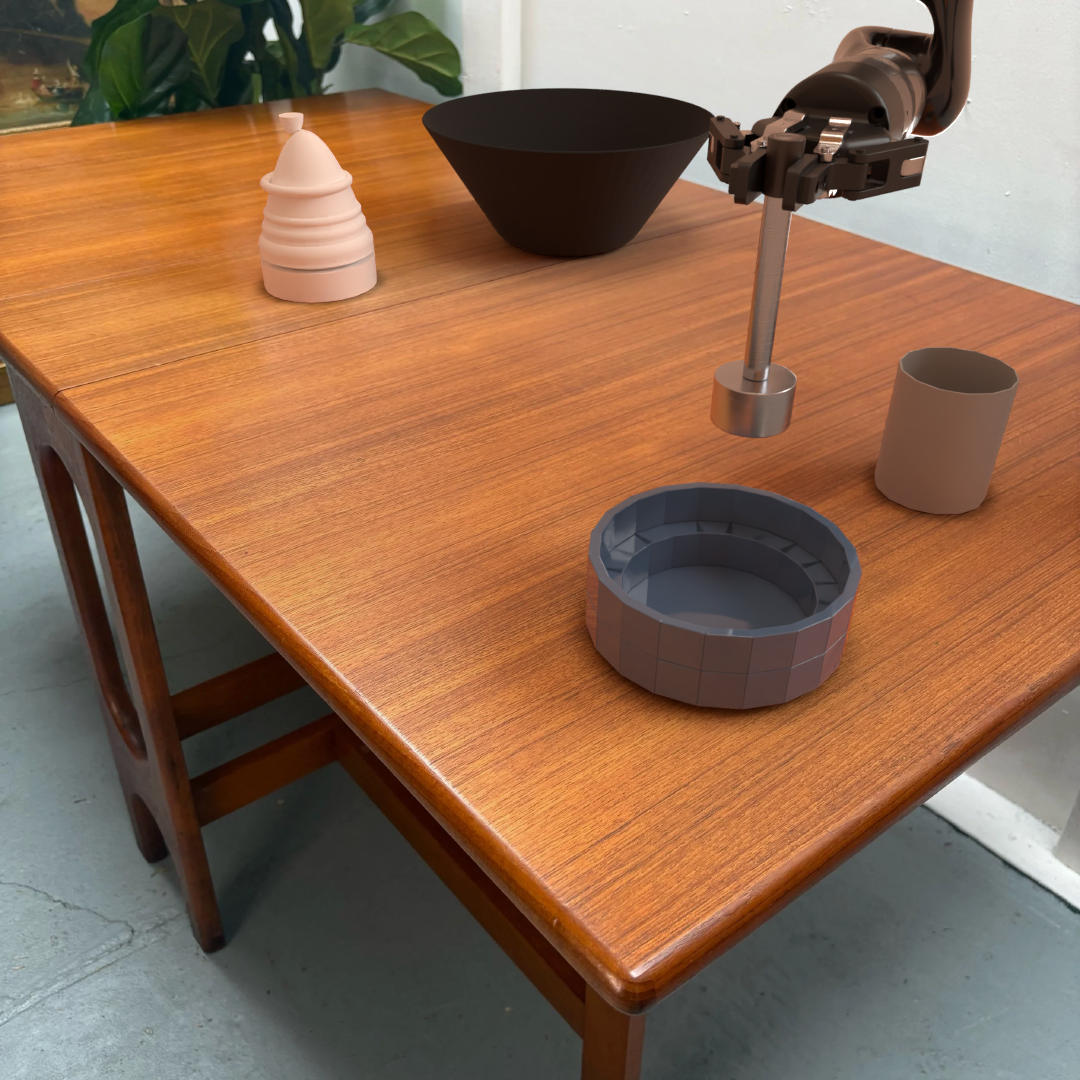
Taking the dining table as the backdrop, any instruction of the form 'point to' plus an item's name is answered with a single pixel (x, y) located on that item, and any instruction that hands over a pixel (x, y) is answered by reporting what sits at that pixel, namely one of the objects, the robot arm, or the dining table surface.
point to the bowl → (568, 161)
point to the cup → (944, 429)
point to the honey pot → (313, 224)
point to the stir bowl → (720, 594)
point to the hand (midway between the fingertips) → (766, 188)
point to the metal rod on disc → (762, 318)
